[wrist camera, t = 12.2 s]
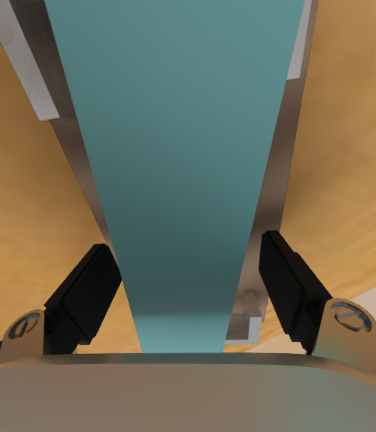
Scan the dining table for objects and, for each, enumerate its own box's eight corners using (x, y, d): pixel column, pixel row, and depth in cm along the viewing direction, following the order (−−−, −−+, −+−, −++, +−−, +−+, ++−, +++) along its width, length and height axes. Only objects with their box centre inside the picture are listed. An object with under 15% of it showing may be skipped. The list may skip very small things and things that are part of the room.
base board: (16, 0, 8) (-17, -22, 7) (311, -73, 7) (338, -118, 6) (147, 312, 22) (144, 324, 20) (259, 308, 20) (264, 321, 19)
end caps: (24, -5, 7) (-49, -58, 5) (288, -71, 6) (338, -175, 4) (155, 321, 20) (150, 345, 18) (250, 318, 19) (258, 344, 16)
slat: (135, 49, 8) (20, -85, 3) (239, 49, 8) (327, -95, 3) (163, 303, 18) (149, 377, 13) (209, 305, 18) (215, 381, 12)
